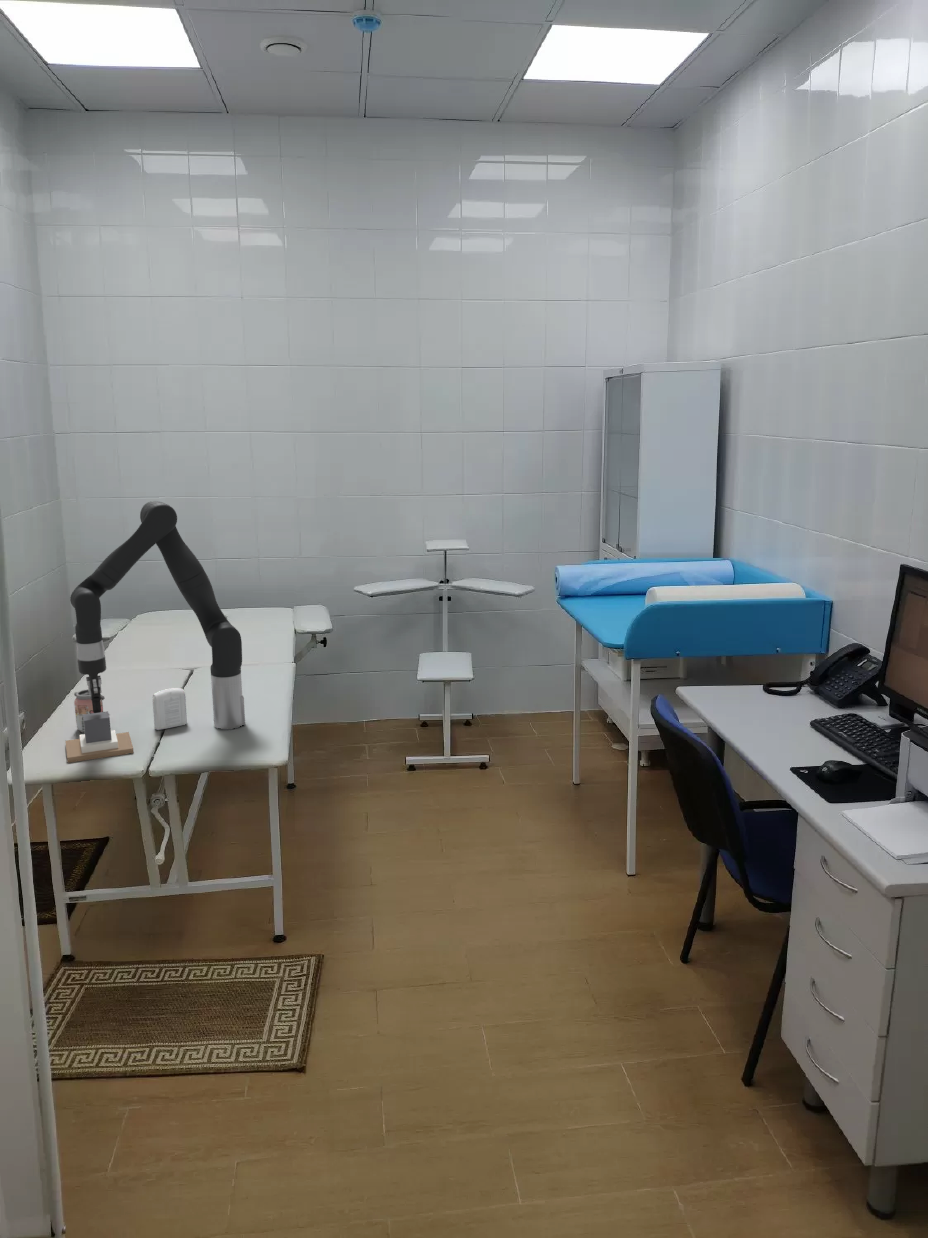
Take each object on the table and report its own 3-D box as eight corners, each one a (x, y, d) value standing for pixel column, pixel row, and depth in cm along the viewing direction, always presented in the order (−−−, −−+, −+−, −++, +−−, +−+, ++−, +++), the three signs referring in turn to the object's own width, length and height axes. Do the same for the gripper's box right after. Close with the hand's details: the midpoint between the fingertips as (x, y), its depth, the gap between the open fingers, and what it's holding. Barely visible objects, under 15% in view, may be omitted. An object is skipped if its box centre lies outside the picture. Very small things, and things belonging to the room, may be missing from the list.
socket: (129, 736, 290) (128, 725, 289) (133, 753, 278) (132, 742, 277) (65, 745, 283) (64, 734, 282) (67, 762, 271) (66, 751, 270)
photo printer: (184, 720, 304) (182, 684, 300) (189, 724, 300) (186, 688, 297) (152, 727, 298) (149, 690, 295) (157, 731, 294) (153, 694, 291)
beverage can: (86, 722, 302) (82, 686, 299) (111, 723, 301) (108, 687, 298) (71, 732, 293) (67, 696, 290) (97, 734, 292) (93, 697, 289)
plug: (110, 737, 284) (108, 711, 282) (112, 744, 279) (109, 717, 277) (85, 741, 281) (82, 714, 279) (86, 748, 276) (83, 720, 274)
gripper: (106, 660, 269) (112, 717, 274) (103, 648, 281) (108, 703, 286) (78, 663, 266) (85, 721, 271) (76, 651, 278) (82, 706, 283)
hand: (97, 712), depth 278 cm, fingers closed
